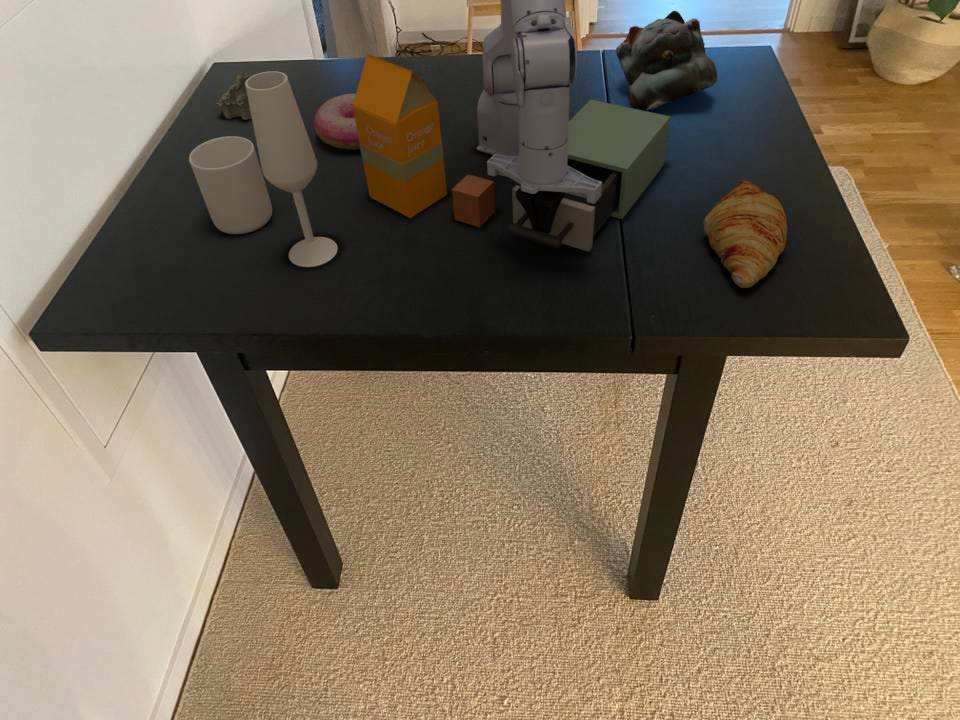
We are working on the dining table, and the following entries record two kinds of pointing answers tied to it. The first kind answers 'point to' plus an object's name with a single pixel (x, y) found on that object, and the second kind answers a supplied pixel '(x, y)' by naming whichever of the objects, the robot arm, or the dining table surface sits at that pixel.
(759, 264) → the croissant
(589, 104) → the green drawer box
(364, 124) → the orange juice
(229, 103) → the grey rough lump
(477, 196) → the rust orange cube
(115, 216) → the dining table surface
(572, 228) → the cream drawer
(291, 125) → the champagne flute
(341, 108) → the donut
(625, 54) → the lucky cat figurine
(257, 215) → the mug
